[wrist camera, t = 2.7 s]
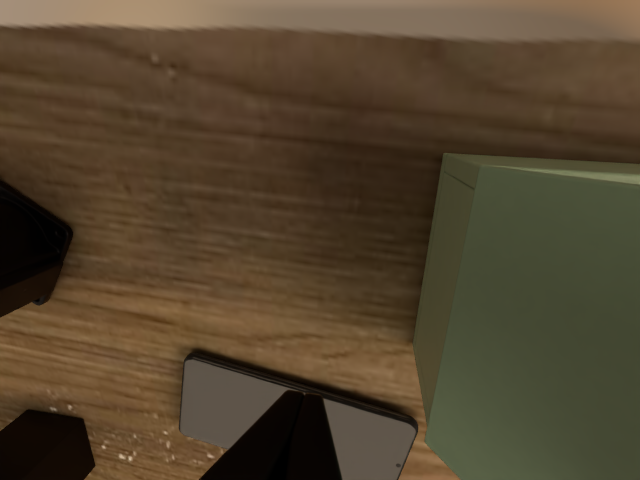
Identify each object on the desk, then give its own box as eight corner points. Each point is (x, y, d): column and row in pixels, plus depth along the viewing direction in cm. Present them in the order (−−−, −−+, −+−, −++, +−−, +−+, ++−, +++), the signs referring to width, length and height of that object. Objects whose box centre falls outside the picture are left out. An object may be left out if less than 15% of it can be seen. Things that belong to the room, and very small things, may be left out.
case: (757, 170, 14) (1010, 196, 8) (660, 377, 17) (793, 492, 12) (443, 152, 15) (480, 164, 10) (412, 344, 19) (427, 431, 13)
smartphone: (182, 355, 20) (421, 427, 19) (190, 346, 21) (419, 414, 20) (176, 435, 23) (389, 504, 21) (184, 424, 24) (389, 490, 22)
